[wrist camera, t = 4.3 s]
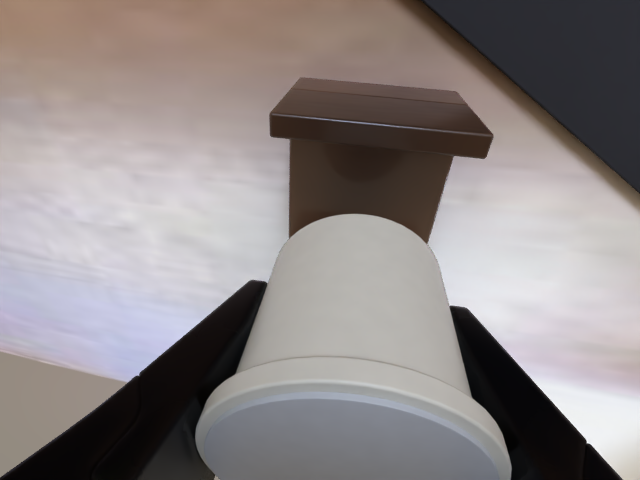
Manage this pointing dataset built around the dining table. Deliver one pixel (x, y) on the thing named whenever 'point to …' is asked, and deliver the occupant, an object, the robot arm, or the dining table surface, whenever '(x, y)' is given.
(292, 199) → the pod rack
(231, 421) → the coffee pod
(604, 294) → the dining table surface
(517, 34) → the mat
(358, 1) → the dining table surface
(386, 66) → the dining table surface
